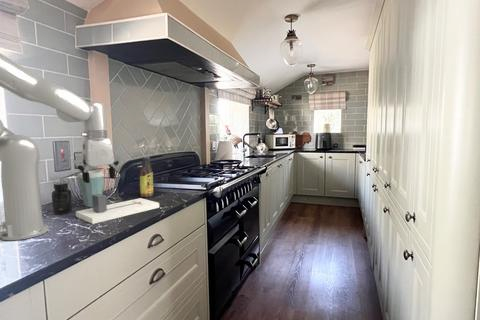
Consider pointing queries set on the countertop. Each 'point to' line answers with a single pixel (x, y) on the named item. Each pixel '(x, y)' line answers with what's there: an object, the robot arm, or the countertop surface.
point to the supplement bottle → (61, 199)
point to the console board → (117, 210)
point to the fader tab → (99, 202)
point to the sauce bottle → (146, 178)
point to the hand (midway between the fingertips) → (100, 180)
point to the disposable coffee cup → (91, 186)
